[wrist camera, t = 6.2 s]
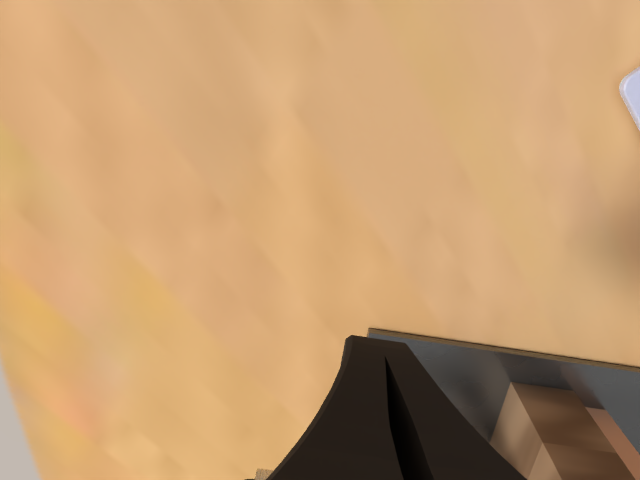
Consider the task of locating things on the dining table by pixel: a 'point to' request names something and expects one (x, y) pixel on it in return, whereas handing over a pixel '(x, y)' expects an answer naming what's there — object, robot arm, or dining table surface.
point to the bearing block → (553, 437)
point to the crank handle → (262, 474)
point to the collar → (617, 440)
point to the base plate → (521, 379)
